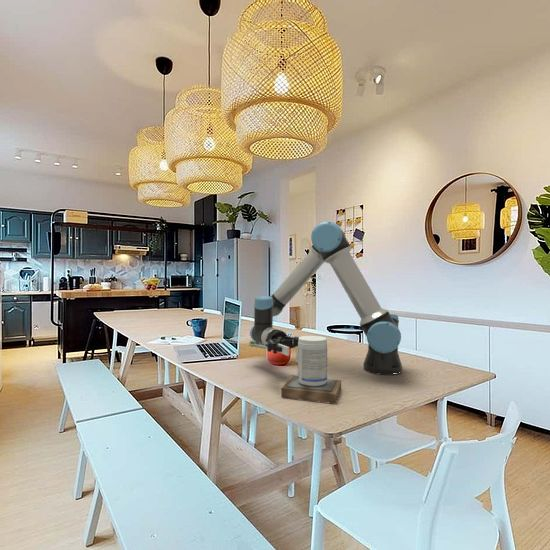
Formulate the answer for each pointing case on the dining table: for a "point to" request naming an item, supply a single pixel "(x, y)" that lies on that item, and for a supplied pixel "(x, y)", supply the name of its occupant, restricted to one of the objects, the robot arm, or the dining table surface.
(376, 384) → the dining table surface
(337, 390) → the dock
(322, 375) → the supplement tub
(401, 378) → the dining table surface
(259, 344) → the towel
